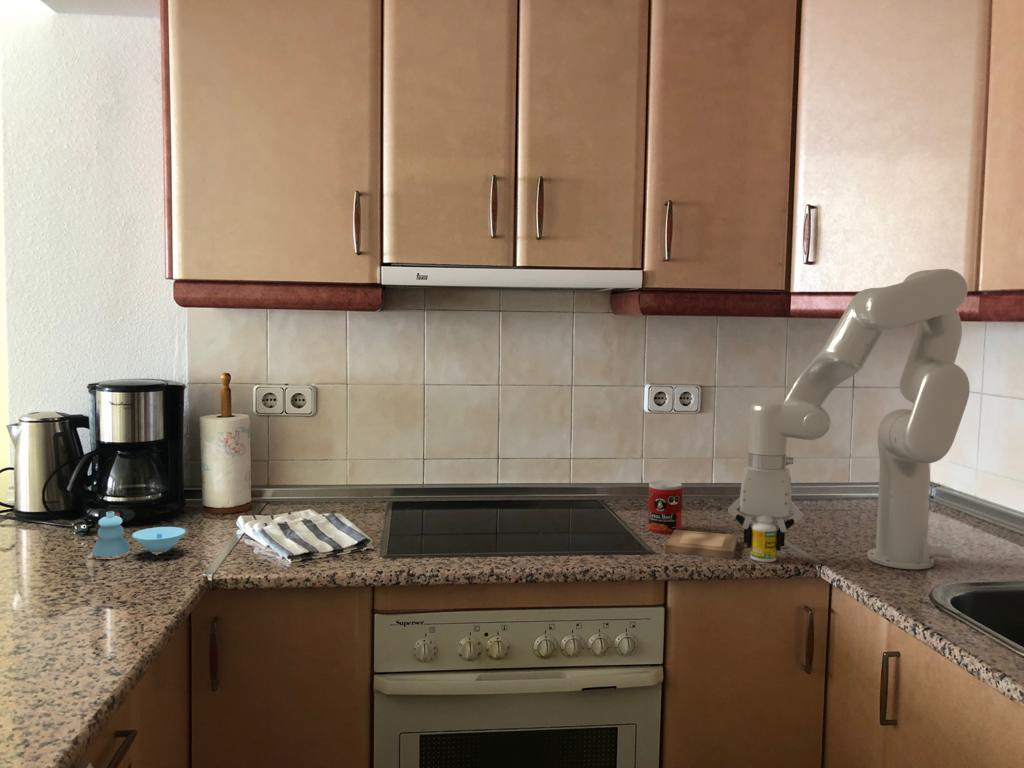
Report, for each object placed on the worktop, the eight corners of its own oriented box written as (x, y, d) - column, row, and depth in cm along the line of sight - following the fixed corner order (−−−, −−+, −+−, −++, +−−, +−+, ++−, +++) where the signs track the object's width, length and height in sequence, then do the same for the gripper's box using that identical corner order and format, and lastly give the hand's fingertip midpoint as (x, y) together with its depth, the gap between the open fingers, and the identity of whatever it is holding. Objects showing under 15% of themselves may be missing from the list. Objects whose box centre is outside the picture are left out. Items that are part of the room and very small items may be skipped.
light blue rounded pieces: (190, 546, 186) (190, 504, 185) (181, 560, 176) (180, 516, 175) (101, 549, 183) (99, 507, 182) (86, 563, 173) (84, 518, 172)
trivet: (737, 541, 195) (737, 534, 194) (733, 558, 181) (733, 551, 181) (674, 536, 199) (674, 529, 199) (665, 551, 186) (665, 544, 186)
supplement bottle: (761, 553, 185) (763, 509, 184) (782, 560, 181) (784, 514, 180) (744, 557, 182) (746, 512, 181) (764, 564, 178) (766, 517, 177)
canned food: (643, 531, 203) (644, 484, 202) (654, 524, 210) (655, 479, 209) (675, 535, 199) (676, 488, 198) (685, 528, 206) (686, 482, 205)
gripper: (810, 461, 181) (807, 547, 182) (725, 456, 186) (723, 539, 187) (810, 467, 173) (807, 556, 175) (722, 462, 179) (720, 548, 180)
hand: (763, 547), depth 181 cm, fingers closed on supplement bottle, 5 cm apart
